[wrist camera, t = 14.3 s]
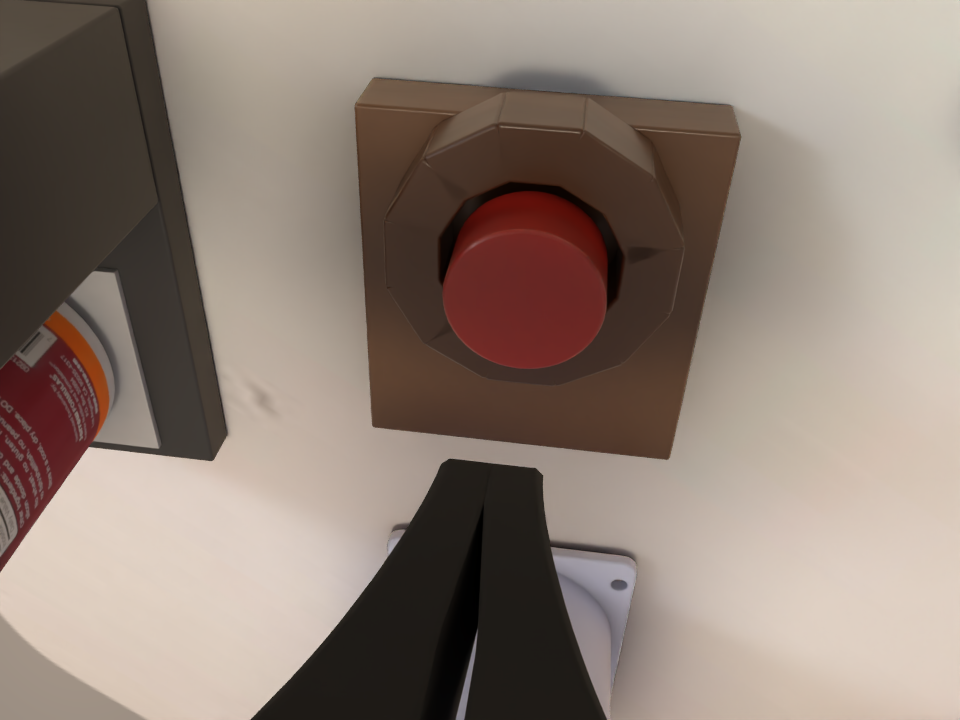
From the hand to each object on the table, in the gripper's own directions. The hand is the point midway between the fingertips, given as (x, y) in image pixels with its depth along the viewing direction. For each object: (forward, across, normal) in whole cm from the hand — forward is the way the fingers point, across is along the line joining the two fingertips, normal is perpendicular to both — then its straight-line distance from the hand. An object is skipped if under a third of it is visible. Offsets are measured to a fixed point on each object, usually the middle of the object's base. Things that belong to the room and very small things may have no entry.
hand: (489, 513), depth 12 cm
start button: (+7, 0, 0) cm, 7 cm away
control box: (+10, 0, +2) cm, 11 cm away
